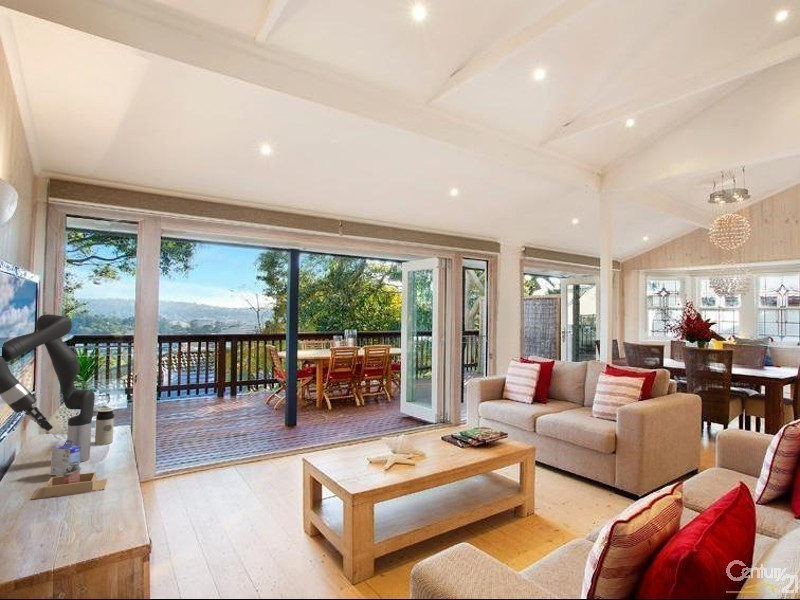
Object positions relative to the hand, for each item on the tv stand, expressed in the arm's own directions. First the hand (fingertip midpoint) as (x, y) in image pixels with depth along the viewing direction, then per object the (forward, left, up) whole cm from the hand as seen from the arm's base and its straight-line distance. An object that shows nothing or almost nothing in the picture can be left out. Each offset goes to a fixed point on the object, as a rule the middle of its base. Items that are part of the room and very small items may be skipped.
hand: (48, 428), depth 175 cm
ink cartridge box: (-20, +4, -26) cm, 32 cm away
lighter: (0, +9, -26) cm, 27 cm away
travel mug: (-66, +14, -26) cm, 72 cm away
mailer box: (-2, +9, -25) cm, 27 cm away
